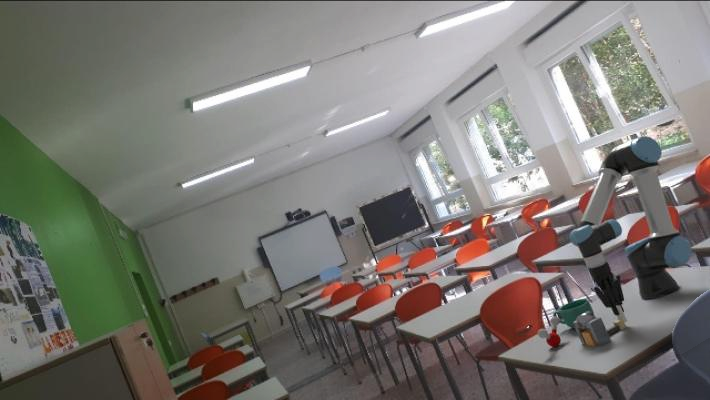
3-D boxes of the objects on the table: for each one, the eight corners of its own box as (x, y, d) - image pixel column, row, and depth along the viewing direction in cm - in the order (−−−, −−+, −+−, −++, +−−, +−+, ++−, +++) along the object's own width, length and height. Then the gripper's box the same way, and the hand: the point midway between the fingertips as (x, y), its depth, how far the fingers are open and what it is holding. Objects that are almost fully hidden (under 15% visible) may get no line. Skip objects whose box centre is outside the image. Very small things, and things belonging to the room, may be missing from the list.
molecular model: (555, 353, 222) (544, 329, 223) (542, 356, 226) (531, 332, 226) (569, 336, 236) (559, 313, 236) (557, 339, 239) (547, 316, 240)
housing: (592, 338, 221) (579, 310, 222) (611, 340, 211) (597, 311, 212) (582, 344, 220) (569, 316, 221) (600, 346, 209) (587, 316, 210)
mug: (601, 316, 244) (592, 296, 244) (591, 328, 234) (582, 306, 235) (566, 324, 255) (557, 304, 256) (555, 335, 246) (546, 314, 246)
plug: (619, 326, 221) (614, 314, 222) (627, 327, 217) (622, 314, 217) (586, 345, 217) (581, 332, 217) (594, 345, 212) (588, 333, 213)
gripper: (604, 259, 227) (629, 314, 225) (578, 271, 223) (604, 328, 221) (616, 257, 220) (643, 314, 218) (590, 270, 216) (617, 329, 214)
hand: (623, 321), depth 219 cm, fingers closed
